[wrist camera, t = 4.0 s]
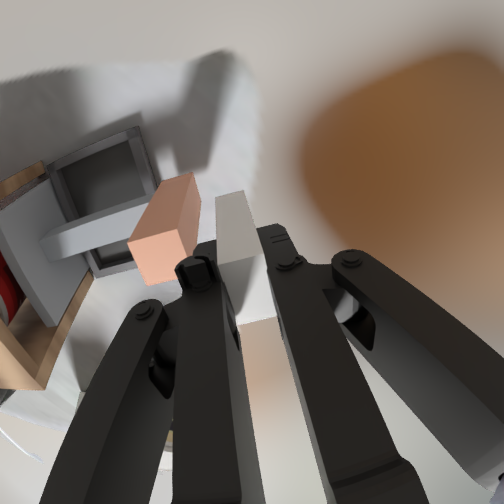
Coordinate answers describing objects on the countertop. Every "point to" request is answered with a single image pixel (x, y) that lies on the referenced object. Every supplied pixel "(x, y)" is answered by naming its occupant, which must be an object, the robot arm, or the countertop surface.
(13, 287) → the canned food
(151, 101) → the countertop surface
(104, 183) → the tray
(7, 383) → the tunnel
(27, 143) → the countertop surface
